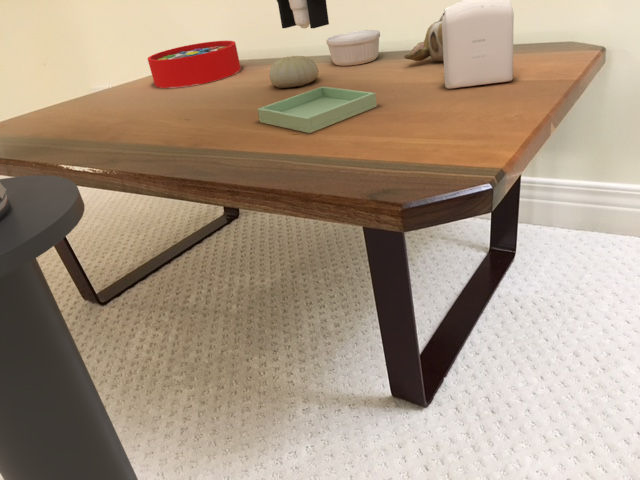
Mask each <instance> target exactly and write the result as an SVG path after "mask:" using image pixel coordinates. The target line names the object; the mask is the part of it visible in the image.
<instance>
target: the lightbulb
mask: <svg viewBox="0 0 640 480" xmlns="http://www.w3.org/2000/svg"><path fill="white" fill-rule="evenodd" d="M289 3H290V8H291V9H292V11H293V14H294V20H295V24H296V26H298V27H300V28H301V29H307V28H309V27H310V21H309V14H308V7H307V0H289Z"/></svg>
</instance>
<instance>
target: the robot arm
mask: <svg viewBox="0 0 640 480" xmlns="http://www.w3.org/2000/svg"><path fill="white" fill-rule="evenodd" d="M276 2H277V6H278V7H277V8H278V11H279V18H280V23H281V28H282V29H288V28H292V27H295V26H296V27H297V25H296V24H295V20H294V14H293V11H292V9H291V8H290V3H289V0H276ZM307 7H308V14H309V21H310V25H309V27H310V29H316V28H320V27H324V26H328V25H330V21H329V13H328V5H327V0H307ZM5 191H6V189H5V188H4V186H3V185H2V184H1V183H0V221H1V220H3V219H4V218H5V217H6V216H7V215H8V214H9V212H10V211H11V203H10V201H9V199H8V197H7V195H6V193H5Z"/></svg>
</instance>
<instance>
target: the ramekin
mask: <svg viewBox="0 0 640 480" xmlns="http://www.w3.org/2000/svg"><path fill="white" fill-rule="evenodd" d="M380 37H381V32H380V31H379V30H378V29H363V30H356V31H355V30H354V31H349V32H344V33H340V34H336V35H332V36H329V37H328V38H326V40H325V42H326V45H327V46H328V47H327V48H328V51H329V54H330V59H331V60H332V62H333V64H334V65H336V66H340V67H341V66H343V67H347V66H348V67H349V66H357V65H362V64H366V63H371V62H373V61H375V60H376V59H377V58H378V56H379V51H380V50H379V49H380Z"/></svg>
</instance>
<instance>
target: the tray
mask: <svg viewBox="0 0 640 480" xmlns="http://www.w3.org/2000/svg"><path fill="white" fill-rule="evenodd" d="M377 106H378V105H377V95H376V92H371V91H363V90H362V91H361V90H354V89H348V88H347V89H346V88H338V87H332V86H331V87H330V86H320V87H316V88H314V89H311V90H308V91H304V92H302V93H299V94H297V95H293V96H290V97H288V98H285V99H281V100H279V101H276V102H273V103H269V104H267V105H264V106H260V107H259V108H257V114H258V119H259V122H260V123H261V124H267V125H272V126H275V127H281V128H284V129H289V130H294V131H298V132H303V133H306V134H312V133H314V132H317V131H319V130H322V129H325V128H327V127H329V126H332V125H334V124H337V123H339V122H342V121H344V120H347V119H349V118H351V117H354V116H357V115H359V114H362V113H365V112H367V111H370V110H372V109H374V108H377Z"/></svg>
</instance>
